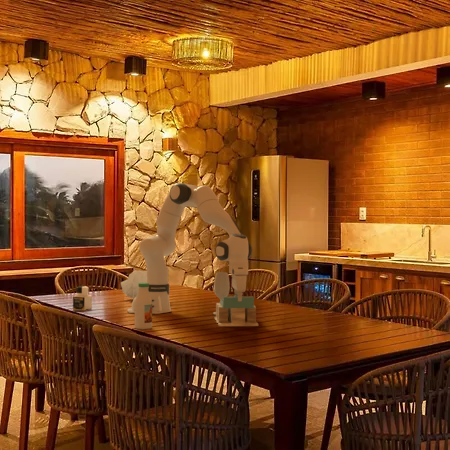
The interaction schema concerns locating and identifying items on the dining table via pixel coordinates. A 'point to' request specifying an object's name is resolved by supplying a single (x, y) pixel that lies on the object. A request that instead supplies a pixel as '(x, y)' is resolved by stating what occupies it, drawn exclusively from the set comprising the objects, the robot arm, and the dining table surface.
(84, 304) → the medicine bottle
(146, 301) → the milk bottle
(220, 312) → the stacked beige blocks
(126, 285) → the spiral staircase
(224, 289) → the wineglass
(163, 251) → the robot arm
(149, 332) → the dining table surface
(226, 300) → the green flat slab
